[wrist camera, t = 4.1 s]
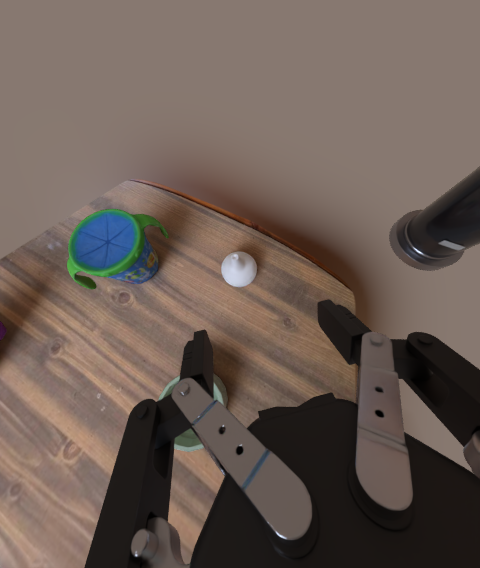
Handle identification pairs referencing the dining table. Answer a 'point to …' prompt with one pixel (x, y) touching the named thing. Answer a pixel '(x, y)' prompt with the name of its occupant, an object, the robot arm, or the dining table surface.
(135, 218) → the snack cup
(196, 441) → the dish
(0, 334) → the mug
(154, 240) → the dining table surface
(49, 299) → the dining table surface
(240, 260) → the garlic bulb
